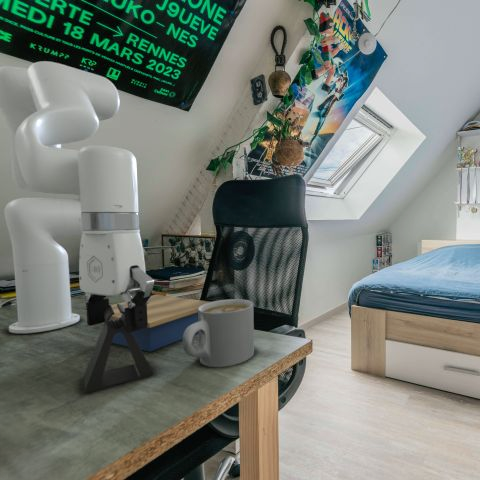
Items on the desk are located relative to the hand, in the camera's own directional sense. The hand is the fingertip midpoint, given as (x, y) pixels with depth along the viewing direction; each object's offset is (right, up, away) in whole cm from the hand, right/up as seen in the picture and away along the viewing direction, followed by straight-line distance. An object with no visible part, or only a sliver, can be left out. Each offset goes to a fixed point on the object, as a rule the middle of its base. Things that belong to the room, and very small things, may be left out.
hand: (117, 326), depth 54 cm
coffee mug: (+13, -9, +8) cm, 18 cm away
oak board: (-6, -2, +19) cm, 20 cm away
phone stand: (0, -9, +1) cm, 9 cm away
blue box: (-6, -8, +19) cm, 21 cm away
